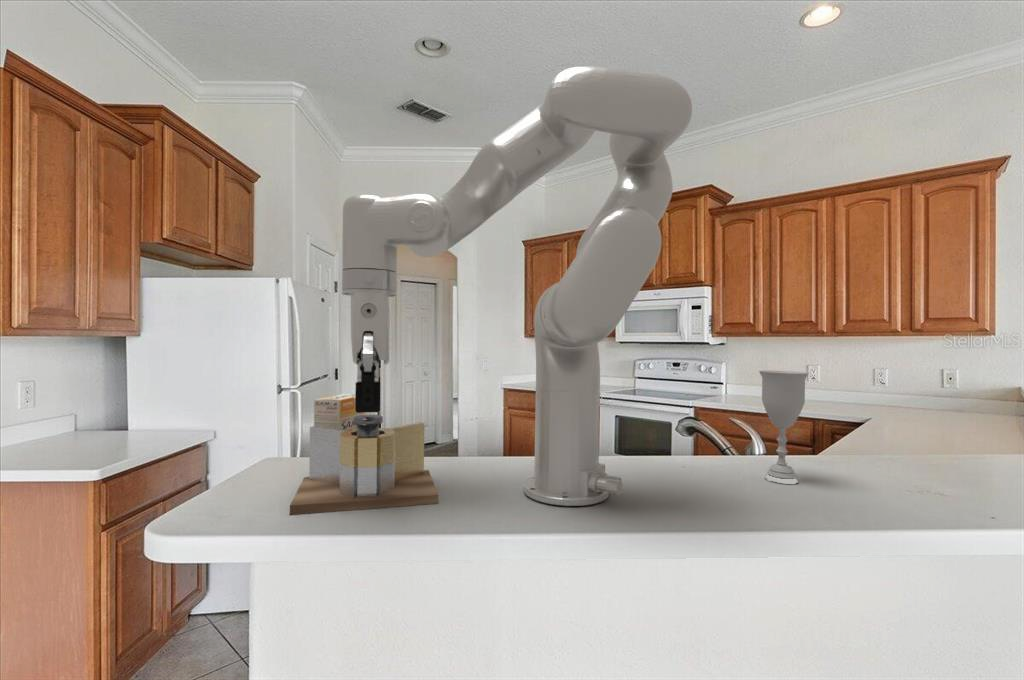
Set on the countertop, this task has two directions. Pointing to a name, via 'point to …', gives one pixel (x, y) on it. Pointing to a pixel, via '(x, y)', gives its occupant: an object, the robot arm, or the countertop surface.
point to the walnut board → (330, 499)
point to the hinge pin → (367, 424)
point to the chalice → (783, 410)
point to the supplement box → (336, 412)
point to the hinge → (366, 458)
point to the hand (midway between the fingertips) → (368, 406)
